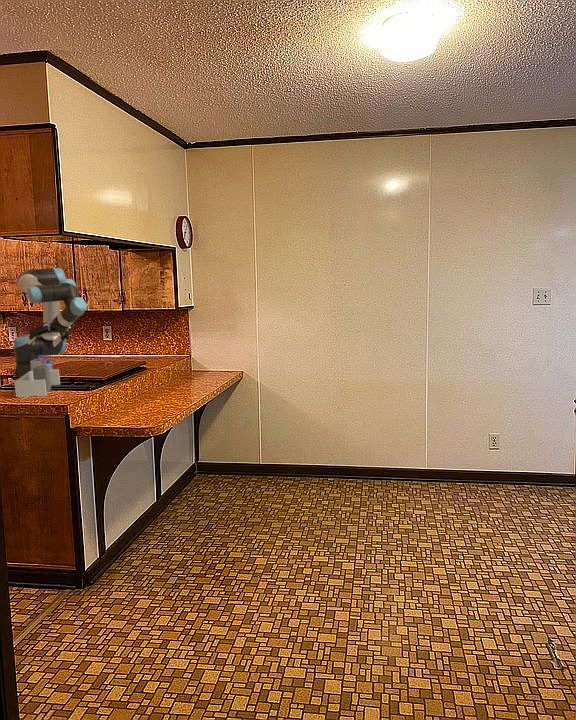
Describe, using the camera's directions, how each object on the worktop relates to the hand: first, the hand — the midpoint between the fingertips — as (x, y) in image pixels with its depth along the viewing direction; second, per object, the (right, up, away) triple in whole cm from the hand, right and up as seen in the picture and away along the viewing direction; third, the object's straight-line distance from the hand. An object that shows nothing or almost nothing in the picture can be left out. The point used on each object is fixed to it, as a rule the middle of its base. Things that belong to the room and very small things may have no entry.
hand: (41, 343), depth 309 cm
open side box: (-4, -24, +8) cm, 25 cm away
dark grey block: (-2, -24, +8) cm, 25 cm away
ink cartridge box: (-9, -20, +27) cm, 35 cm away
